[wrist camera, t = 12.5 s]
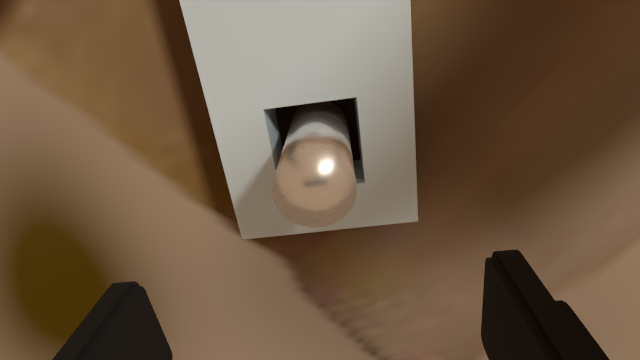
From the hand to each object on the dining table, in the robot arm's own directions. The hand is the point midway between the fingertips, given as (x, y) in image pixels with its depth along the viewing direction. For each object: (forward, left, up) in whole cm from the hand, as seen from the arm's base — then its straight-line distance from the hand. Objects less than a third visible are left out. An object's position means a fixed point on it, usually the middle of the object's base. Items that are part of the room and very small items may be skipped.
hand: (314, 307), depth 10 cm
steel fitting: (0, 0, -18) cm, 18 cm away
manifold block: (0, -5, -18) cm, 19 cm away
